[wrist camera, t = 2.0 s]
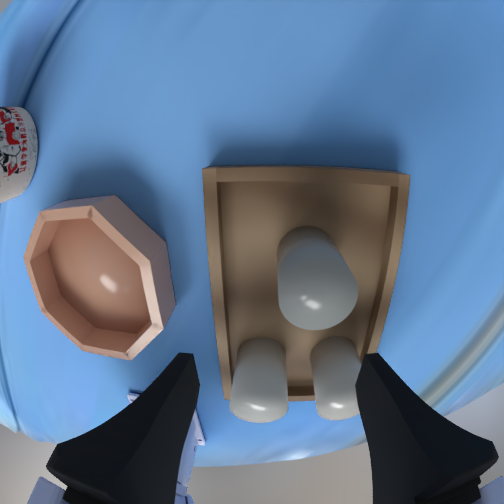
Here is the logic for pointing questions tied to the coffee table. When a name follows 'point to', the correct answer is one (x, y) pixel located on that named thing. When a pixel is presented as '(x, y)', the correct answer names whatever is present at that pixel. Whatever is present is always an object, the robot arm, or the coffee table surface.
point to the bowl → (100, 275)
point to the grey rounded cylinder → (313, 280)
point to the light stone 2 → (335, 377)
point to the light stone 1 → (260, 381)
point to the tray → (265, 254)
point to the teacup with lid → (16, 151)
